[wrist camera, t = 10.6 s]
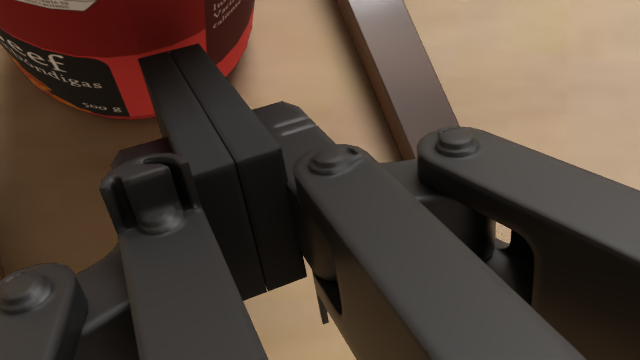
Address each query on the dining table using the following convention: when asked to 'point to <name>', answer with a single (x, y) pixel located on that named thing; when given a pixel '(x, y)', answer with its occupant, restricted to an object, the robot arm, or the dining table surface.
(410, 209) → the robot arm
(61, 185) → the dining table surface
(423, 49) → the walnut frame
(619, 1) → the dining table surface
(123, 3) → the canned food
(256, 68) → the dining table surface
